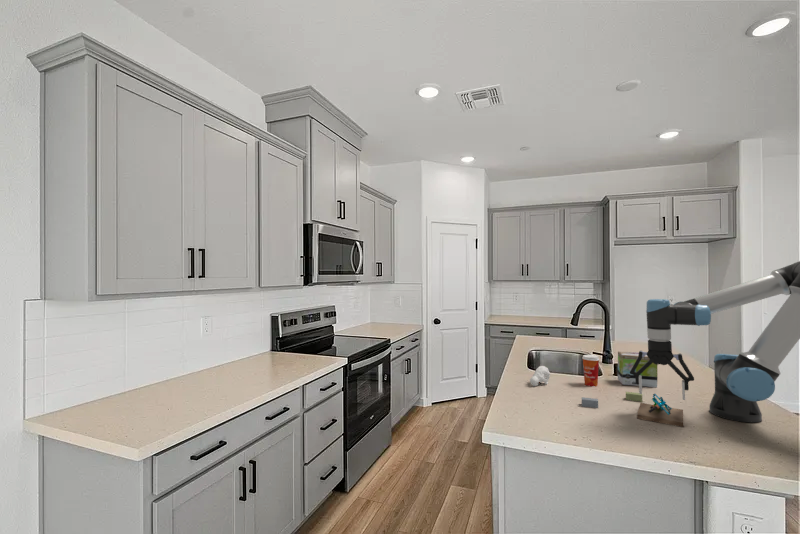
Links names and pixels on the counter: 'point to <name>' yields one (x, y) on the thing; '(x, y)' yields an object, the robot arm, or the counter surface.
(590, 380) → the paper cup
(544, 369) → the white lumpy piece
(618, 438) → the counter surface
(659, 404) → the stick construction toy
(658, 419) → the walnut board
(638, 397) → the olive block
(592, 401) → the slate grey block
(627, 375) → the tea box
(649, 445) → the counter surface
